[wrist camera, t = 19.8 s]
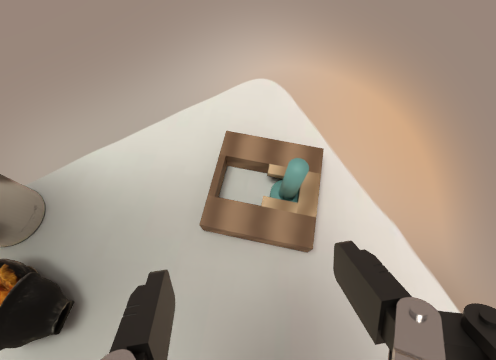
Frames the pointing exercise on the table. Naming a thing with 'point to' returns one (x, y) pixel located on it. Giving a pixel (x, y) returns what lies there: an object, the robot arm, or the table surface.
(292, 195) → the peg
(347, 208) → the table surface
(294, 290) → the table surface
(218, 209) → the keyhole plate
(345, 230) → the table surface
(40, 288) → the black fries container
